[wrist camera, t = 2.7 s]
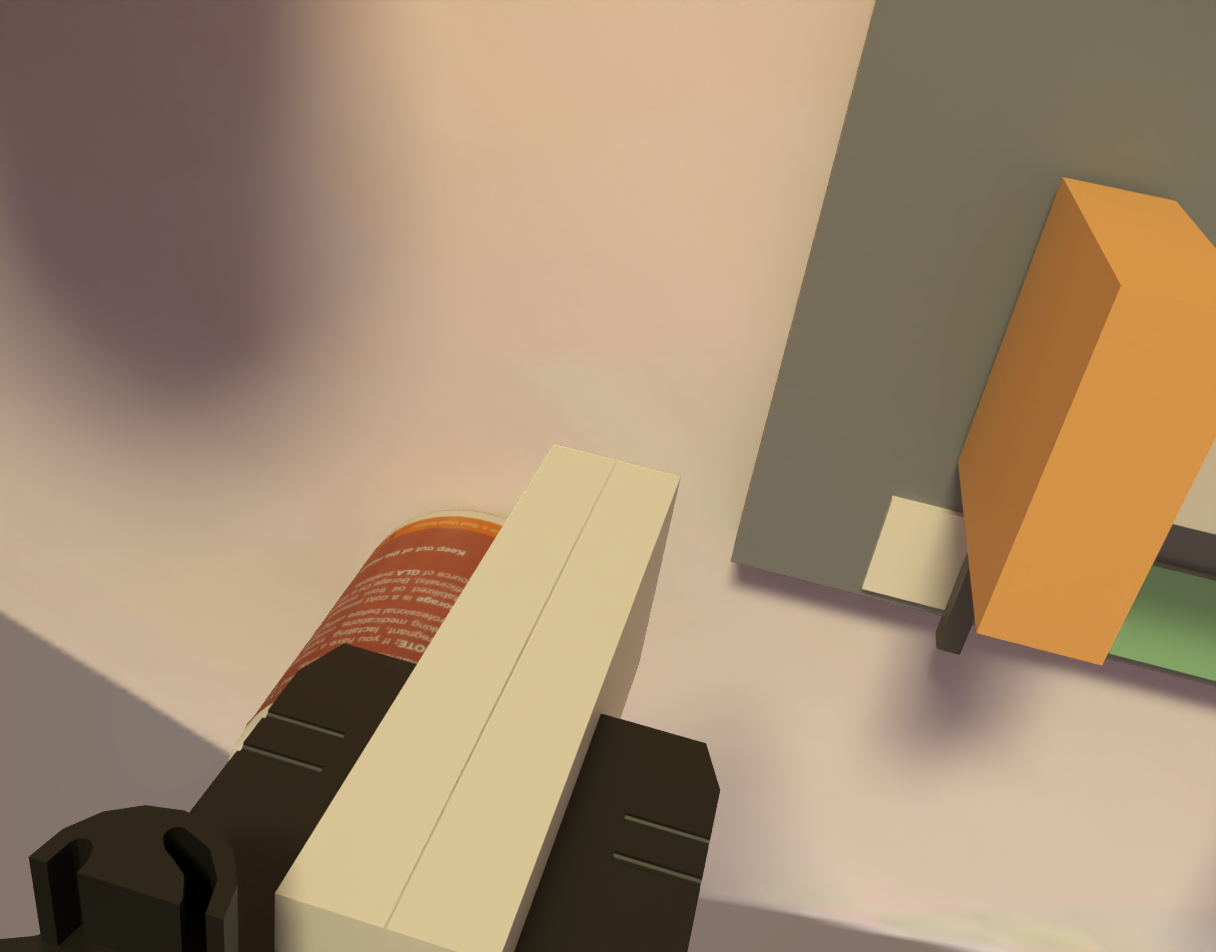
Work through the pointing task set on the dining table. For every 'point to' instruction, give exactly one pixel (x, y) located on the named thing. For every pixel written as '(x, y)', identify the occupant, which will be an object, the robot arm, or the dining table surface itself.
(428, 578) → the pill bottle
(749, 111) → the dining table surface
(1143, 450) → the plunger
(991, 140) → the board
